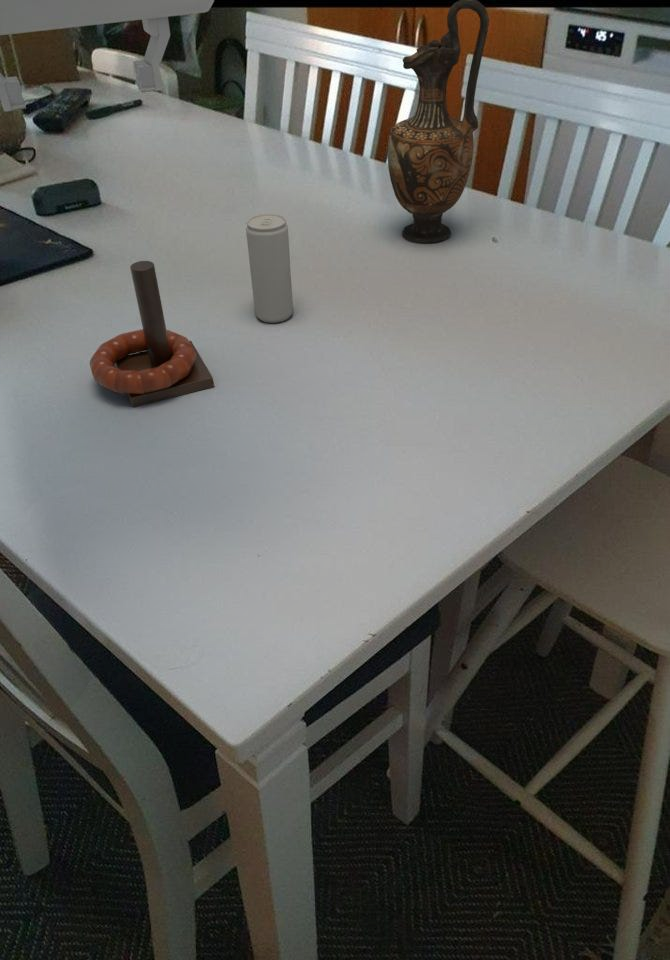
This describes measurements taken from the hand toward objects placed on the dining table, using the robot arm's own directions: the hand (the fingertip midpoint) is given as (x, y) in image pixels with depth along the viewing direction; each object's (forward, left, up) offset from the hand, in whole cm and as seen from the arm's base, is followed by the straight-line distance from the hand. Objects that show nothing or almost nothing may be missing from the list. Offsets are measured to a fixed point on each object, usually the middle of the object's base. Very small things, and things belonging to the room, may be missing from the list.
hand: (83, 99), depth 57 cm
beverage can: (+20, +24, -33) cm, 45 cm away
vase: (+49, +37, -33) cm, 69 cm away
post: (+4, +16, -33) cm, 37 cm away
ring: (+2, +16, -30) cm, 35 cm away
